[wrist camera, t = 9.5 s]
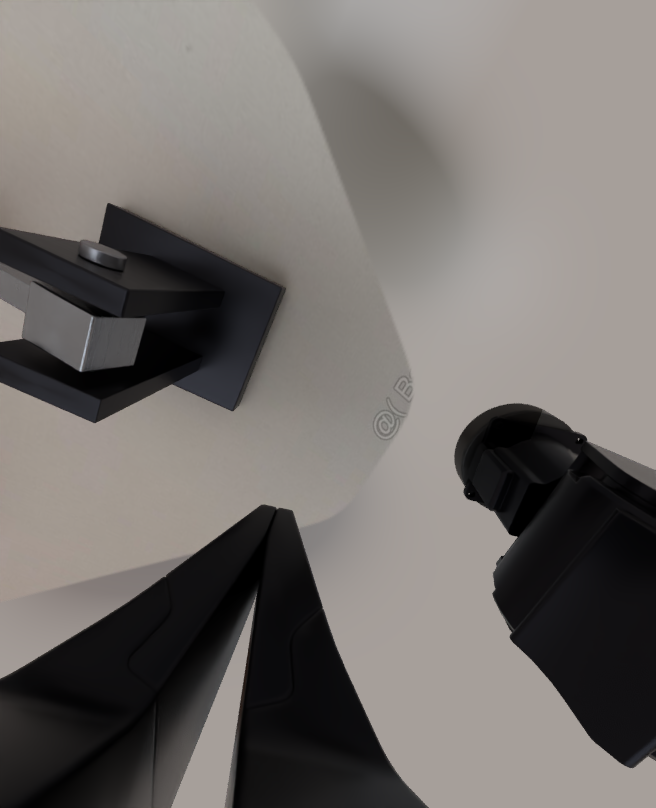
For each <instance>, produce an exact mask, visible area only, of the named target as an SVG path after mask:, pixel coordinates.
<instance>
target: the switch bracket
mask: <svg viewBox="0 0 656 808" xmlns="http://www.w3.org/2000/svg"><path fill="white" fill-rule="evenodd" d="M0 263H3V264H5V265H7V266H9V267H11V268H13V269H16V270H18V271H20V272H22V273H24V274H26V275H29V276H31V277H33V278H35V279H37V280H39V281H42V282H44V283H46V284H48V285H50V286H52V287H55V288H57V289H59V290H61V291H63V292H65V293H68V294H70V295H72V296H74V297H76V298H78V299H80V300H83V301H85V302H87V303H89V304H91V305H93V306H96V307H98V308H100V309H102V310H104V311H106V312H109V313H111V314H113V315H115V316H117V317H119V318H129V317H138V316H145V317H146V318H147V320H146V324H145V327H144V331H143V335H142V338H141V342H140V345H139V349H138V352H137V356H136V360H135V363H134V365H133V366H129V367H121V368H114V369H107V370H100V371H92V372H85V373H81V372H78V371H77V370H75V369H73V368H72V367H70V366H68V365H67V364H65V363H63V362H62V361H60V360H58V359H56V358H55V357H53V356H51V355H50V354H48V353H46V352H45V351H43V350H41V349H40V348H38V347H36V346H35V345H33V344H31V343H30V342H28V341H26V340H25V339H19V340H12V341H5V342H0V382H1V383H3V384H6V385H8V386H10V387H12V388H15V389H17V390H19V391H22V392H24V393H26V394H29V395H31V396H33V397H35V398H38V399H40V400H42V401H45V402H47V403H49V404H52V405H54V406H56V407H59V408H61V409H63V410H65V411H68V412H70V413H72V414H75V415H77V416H79V417H82V418H84V419H86V420H89V421H91V422H93V423H97V422H99V421H101V420H102V419H104V418H106V417H108V416H110V415H112V414H114V413H116V412H118V411H120V410H122V409H124V408H126V407H128V406H130V405H132V404H134V403H136V402H138V401H140V400H142V399H144V398H146V397H148V396H150V395H151V394H153V393H155V392H157V391H159V390H161V389H163V388H165V387H167V386H169V385H171V384H173V385H175V386H177V387H180V388H182V389H184V390H186V391H189V392H191V393H193V394H195V395H197V396H200V397H202V398H204V399H206V400H208V401H211V402H213V403H215V404H217V405H220V406H222V407H224V408H226V409H228V410H231V411H234V410H235V409H236V408H237V407H238V406H239V404H240V401H241V399H242V397H243V394H244V392H245V389H246V387H247V384H248V382H249V379H250V377H251V374H252V372H253V369H254V367H255V364H256V362H257V359H258V357H259V354H260V352H261V349H262V347H263V344H264V342H265V339H266V337H267V334H268V332H269V329H270V327H271V324H272V322H273V319H274V317H275V314H276V312H277V309H278V307H279V305H280V302H281V300H282V297H283V295H284V292H285V290H286V288H285V287H283V286H281V285H279V284H277V283H275V282H272V281H270V280H268V279H266V278H264V277H262V276H260V275H258V274H256V273H254V272H252V271H250V270H248V269H246V268H244V267H242V266H240V265H238V264H236V263H234V262H232V261H230V260H227V259H225V258H223V257H221V256H219V255H217V254H215V253H213V252H211V251H209V250H207V249H205V248H203V247H201V246H199V245H197V244H195V243H193V242H191V241H189V240H187V239H185V238H183V237H180V236H178V235H176V234H174V233H172V232H170V231H168V230H166V229H164V228H162V227H160V226H158V225H156V224H154V223H152V222H150V221H148V220H146V219H144V218H142V217H140V216H138V215H135V214H133V213H131V212H129V211H127V210H125V209H123V208H121V207H118V206H116V205H113V204H110V203H108V204H107V208H106V213H105V217H104V222H103V226H102V231H101V236H100V240H99V243H96V242H92V241H88V240H81V241H80V242H77V241H71V240H66V239H61V238H56V237H50V236H45V235H40V234H35V233H29V232H24V231H19V230H13V229H8V228H3V227H0Z"/></svg>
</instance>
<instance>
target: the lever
mask: <svg viewBox="0 0 656 808" xmlns="http://www.w3.org/2000/svg"><path fill="white" fill-rule="evenodd" d="M0 299H2V300H4V301H5V302H7V303H9V304H11V305H12V306H14V307H16V308H17V309H19V310H21V311H23V312H24V313H25V319H24V325H23V331H22V338H23V339H25V340H26V341H28V342H30V343H31V344H33V345H35V346H36V347H38V348H40V349H41V350H43V351H45V352H46V353H48V354H50V355H51V356H53V357H55V358H56V359H58V360H60V361H62V362H63V363H65V364H67V365H68V366H70V367H72V368H73V369H75V370H77V371H78V372H81V373H85V372H92V371H100V370H107V369H114V368H121V367H129V366H133V365H134V363H135V360H136V356H137V352H138V349H139V345H140V342H141V338H142V335H143V331H144V327H145V324H146V320H147V318H146V317H145V316H138V317H129V318H119V317H117V316H115V315H113V314H111V313H109V312H106V311H104V310H102V309H100V308H98V307H96V306H93V305H91V304H89V303H87V302H85V301H83V300H80V299H78V298H76V297H74V296H72V295H70V294H68V293H65V292H63V291H61V290H59V289H57V288H55V287H52V286H50V285H48V284H46V283H44V282H42V281H39V280H37V279H35V278H33V277H31V276H29V275H26V274H24V273H22V272H20V271H18V270H16V269H13V268H11V267H9V266H7V265H5V264H3V263H0Z"/></svg>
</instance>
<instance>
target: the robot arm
mask: <svg viewBox="0 0 656 808" xmlns="http://www.w3.org/2000/svg"><path fill="white" fill-rule="evenodd" d="M499 421H500V425H499V426H495V424H496V422H499ZM578 438H579V441H578V442H575V441H576V439H578ZM467 476H468V480H467V482H466V485H465V488H464V491H463V493H464V495H465V497H466V498H467V499H468V500H471V501H476V502H481V503H485V504H486V505H487V507H488V508H489V510H490V511H494V512H495V513H496V515H497V516H498V518H499V519H500V521H501V522H502V524H503V525H504V527H505V528H506V530H507V531H508V533H509V534H510V535H512V536H517V537H518V538H517V539H516V540H515V542H514V543H513V544H512V546H511V547H510V548H509V550H508V551H507V552H506V554H505V555H504V556H501V557H500V559H499V560H498V561H497V563H496V565H497V567H496V569H495V571H494V573H493V577H494V585H495V588H496V589H495V591H494V592H493V597H494V600H495V602H496V604H497V606H498V608H499V610H500V612H501V614H502V616H503V617H504V619H505V621H506V623H507V625H508V627H509V629H510V630H511V632H512V633H511V635H510V639H511V640H512V642H513V643H514V644H515V645H516V646H517V647H519V648H520V649H521V650H522V651H523V652H524V653H525V654H526V655H527V656H528V657H529V658H530V659H531V660H532V661H533V662H534V663H535V664H536V665H537V666H538V667H539V669H540V670H541V671H542V672H543V673H544V674H545V676H546V677H547V678H548V679H549V680H550V681H551V682H552V684H553V685H554V687H555V688H556V689H557V691H558V692H559V693H560V695H561V696H562V697H563V699H564V700H565V702H566V703H567V705H568V706H569V707H570V709H571V710H572V712H573V713H574V715H575V716H576V718H577V719H578V720H579V722H580V724H581V725H582V726H583V728H584V729H585V731H586V732H587V734H588V735H589V736H590V738H591V739H592V740H593V741H594V742H595V743H596V744H598V745H599V746H600V747H601V748H603V749H604V750H605V751H606V752H607V753H609V754H610V755H611V756H613V757H614V758H615V759H616V760H617V761H619V762H620V763H621V764H623V765H625V766H627V767H629V768H634V767H635V766H637V765H638V764H639V763H640V762H641V761H643V760H644V759H645V758H646V757H648V756H649V757H650V758H652V759H654V760H655V761H656V470H653V469H651V468H649V467H647V466H644V465H642V464H639V463H637V462H635V461H633V460H630V459H628V458H626V457H623V456H621V455H618V454H616V453H614V452H611V451H609V450H607V449H604V448H602V447H600V446H597V445H595V444H593V443H590V442H588V441H587V438H586V436H584V435H582V434H581V433H579V432H574V431H569V430H564V429H559V428H554V427H550V426H545V425H540V424H535V423H530V422H525V421H520V420H516V419H511V418H506V417H501V416H495V417H493V418H491V419H490V421H489V423H488V426H487V429H486V431H485V434H484V437H483V439H482V442H481V443H480V444H478V446H477V448H476V451H475V454H474V456H473V459H472V462H471V464H470V467H469V470H468V473H467ZM471 491H474V492H473V494H469V492H471ZM256 594H257V596H256ZM255 597H256V602H255V608H254V615H253V622H252V628H251V635H250V642H249V648H248V656H247V663H246V670H245V676H244V682H243V689H242V695H241V702H240V709H239V715H238V723H237V729H236V735H235V743H234V749H233V756H232V763H231V769H230V776H229V782H228V789H227V796H226V803H225V808H428V807H427V806H426V805H425V804H424V803H423V801H421V799H420V798H419V797H418V796H417V795H416V794H415V793H414V792H413V791H412V790H411V789H410V788H409V787H408V786H407V785H406V784H405V782H404V781H403V780H402V779H401V777H400V776H399V775H398V774H397V772H396V771H395V769H394V768H393V766H392V765H391V763H390V761H389V760H388V758H387V756H386V754H385V753H384V751H383V749H382V747H381V745H380V743H379V741H378V738H377V737H376V734H375V732H374V730H373V728H372V725H371V723H370V721H369V719H368V717H367V715H366V713H365V710H364V708H363V706H362V704H361V702H360V699H359V697H358V695H357V693H356V691H355V689H354V686H353V684H352V682H351V680H350V678H349V675H348V673H347V671H346V669H345V667H344V664H343V661H342V659H341V657H340V654H339V652H338V650H337V647H336V645H335V642H334V639H333V636H332V633H331V630H330V628H329V625H328V622H327V619H326V615H325V612H324V610H323V609H322V608H323V606H322V603H321V600H320V597H319V593H318V591H317V587H316V584H315V581H314V577H313V574H312V571H311V568H310V564H309V561H308V558H307V555H306V552H305V549H304V545H303V542H302V539H301V536H300V532H299V529H298V526H297V523H296V520H295V516H294V513H293V511H292V510H288V509H283V508H278V509H276V507H273V506H269V505H260V506H259V507H258V508H256V509H255V510H254V511H252V512H251V513H250V514H248V515H247V516H245V517H244V518H243V519H241V520H240V521H239V522H237V523H236V524H235V525H233V526H232V527H231V528H229V529H228V530H226V531H225V532H224V533H222V534H221V535H220V536H218V537H217V538H216V539H214V540H213V541H212V542H210V543H209V544H208V545H206V546H205V547H203V548H202V549H201V550H199V551H198V552H197V553H195V554H194V555H193V556H191V557H190V558H189V559H187V560H186V561H184V562H183V563H182V564H181V565H179V566H178V567H176V568H175V569H174V570H172V571H171V572H170V573H168V574H167V575H166V577H163V578H161V579H160V580H158V581H157V582H156V583H155V584H153V585H152V586H151V587H149V588H148V589H146V590H145V591H143V592H142V593H140V594H139V595H137V596H136V597H135V598H133V599H132V600H130V601H129V602H128V603H126V604H124V605H123V606H121V607H120V608H118V609H117V610H115V611H114V612H112V613H110V614H109V615H107V616H106V617H104V618H102V619H101V620H99V621H98V622H96V623H94V624H93V625H91V626H89V627H88V628H86V629H84V630H83V631H81V632H79V633H78V634H76V635H74V636H73V637H71V638H70V639H68V640H66V641H65V642H63V643H61V644H60V645H58V646H56V647H55V648H53V649H51V650H50V651H48V652H46V653H45V654H43V655H41V656H40V657H38V658H37V659H35V660H33V661H32V662H30V663H28V664H27V665H25V666H23V667H21V668H20V669H18V670H16V671H14V672H13V673H11V674H9V675H7V676H5V677H3V678H1V679H0V808H171V806H172V804H173V801H174V799H175V796H176V793H177V791H178V789H179V786H180V784H181V781H182V779H183V776H184V774H185V771H186V769H187V766H188V763H189V761H190V759H191V756H192V754H193V751H194V749H195V746H196V744H197V742H198V739H199V737H200V734H201V732H202V729H203V727H204V724H205V722H206V719H207V717H208V714H209V712H210V709H211V707H212V704H213V701H214V699H215V697H216V694H217V692H218V689H219V687H220V684H221V682H222V679H223V677H224V675H225V672H226V669H227V667H228V665H229V662H230V660H231V657H232V654H233V652H234V650H235V647H236V645H237V642H238V640H239V637H240V635H241V632H242V630H243V627H244V625H245V622H246V620H247V617H248V615H249V612H250V610H251V608H252V605H253V602H254V600H255Z"/></svg>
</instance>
